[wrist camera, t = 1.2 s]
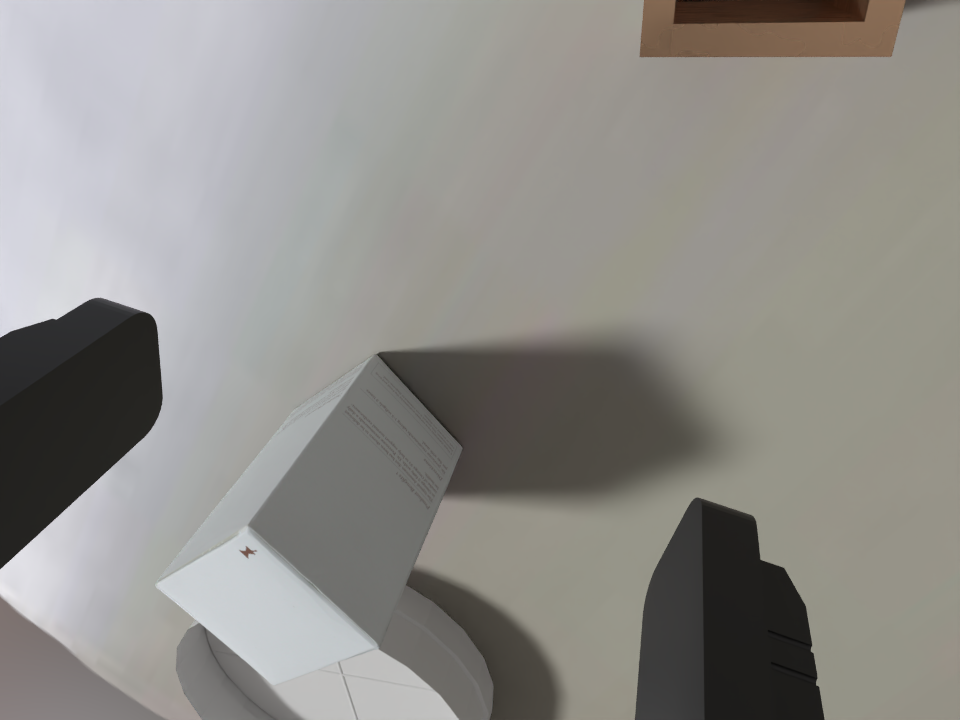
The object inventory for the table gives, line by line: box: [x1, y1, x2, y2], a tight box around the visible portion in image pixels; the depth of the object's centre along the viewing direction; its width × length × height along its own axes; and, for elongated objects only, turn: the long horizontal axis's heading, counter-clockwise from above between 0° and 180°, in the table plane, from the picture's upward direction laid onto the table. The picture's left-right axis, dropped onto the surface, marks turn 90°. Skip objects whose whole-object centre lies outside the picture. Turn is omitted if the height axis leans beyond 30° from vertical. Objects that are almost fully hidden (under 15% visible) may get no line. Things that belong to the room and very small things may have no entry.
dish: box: [176, 585, 494, 720], centre depth 49 cm, size 22×22×5 cm
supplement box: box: [155, 354, 463, 686], centre depth 33 cm, size 7×7×13 cm
